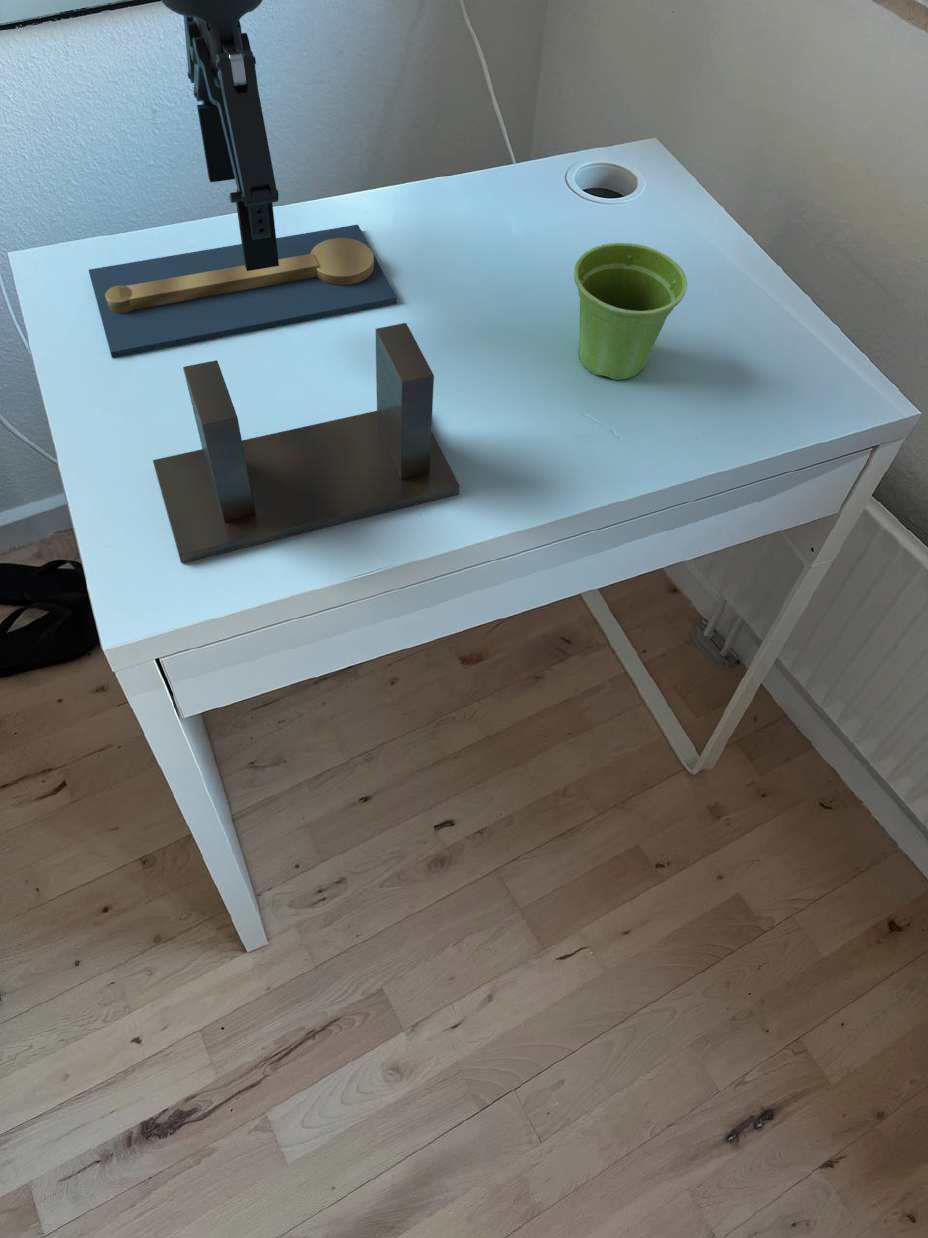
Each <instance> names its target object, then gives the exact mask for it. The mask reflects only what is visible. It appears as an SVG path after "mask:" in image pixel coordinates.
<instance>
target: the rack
mask: <svg viewBox="0 0 928 1238" xmlns="http://www.w3.org/2000/svg"><path fill="white" fill-rule="evenodd" d="M374 332H375V375H376V377H375V378H376V379H375V381H376V382H375V383H376V410H374V411H369V412H365V413H364V412H363V413H359V414H356V415H355V414H354V415H352V416H351V415H350V416H347V417H342V418H338V419H333V420H329V421H324V422H320V423H315V424H310V425H305V426H301V427H297V428H292V429H288V430H283V431H277V432H274V433H269V434H265V435H261V436H256V437H252V438H246V439H243V440H242V434H241V429H240V422H239V418H238V415H237V413H236V409H235V406H234V403H233V401H232V400H233V399H232V398H231V394H230V392H229V389H228V387H227V384H226V381H225V378H224V375H223V372H222V369H221V366H220V364H219V361H218V360H217V359H216V360H212V361H207V362H206V361H205V362H201V363H196V364H191V365H185V366H183V367H182V369H183V373H184V377H185V382H186V386H187V390H188V395H189V398H190V403H191V406H192V407H191V408H192V412H193V415H194V420H195V424H196V428H197V432H198V436H199V441H200V445H201V449H197V450H193V451H192V450H191V451H188V452H184V453H179V454H174V455H170V456H166V457H161V458H156V459H153V460H152V463H153V467H154V471H155V474H156V478H157V481H158V485H159V488H160V493H161V496H162V499H163V504H164V508H165V510H166V514H167V518H168V521H169V525H170V529H171V531H172V536H173V539H174V543H175V547H176V550H177V555H178V557H179V560H180V563H181V564H184V563H189V562H193V561H197V560H200V559H205V558H208V557H213V556H216V555H217V556H218V555H221V554H224V553H229V552H233V551H237V550H240V549H244V548H249V547H253V546H258V545H261V544H265V543H269V542H272V541H278V540H281V539H285V538H288V537H293V536H296V535H297V536H298V535H301V534H305V533H308V532H313V531H316V530H322V529H324V528H329V527H332V526H337V525H341V524H344V523H348V522H349V523H350V522H353V521H356V520H361V519H365V518H369V517H372V516H373V517H374V516H376V515H377V516H378V515H380V514H386V513H390V512H393V511H397V510H400V509H405V508H409V507H412V506H417V505H420V504H421V505H422V504H424V503H425V504H426V503H428V502H429V503H430V502H432V501H436V500H441V499H446V498H449V497H452V496H458V495H459V494H460V487H461V485H460V484H459V481H458V480H457V478H456V476H455V474H454V472H453V470H452V468H451V466H450V464H449V462H448V460H447V458H446V456H445V454H444V451H443V449H442V448H441V446H440V444H439V442H438V440H437V438H436V436H435V434H434V432H433V429H432V428H433V427H432V426H433V407H434V406H433V405H434V386H435V385H434V381H435V374H434V373H433V371H432V368H431V366H430V365H429V363H428V361H427V359H426V358H425V356H424V354H423V351H422V350H421V348H420V346H419V344H418V342H417V340H416V339H415V337H414V335H413V333H412V331H411V329H410V328H409V326H408V324H407V322H403V323H398V324H393V325H392V324H391V325H388V326H387V325H386V326H383V327H382V326H381V327H377V328H375V331H374Z"/></svg>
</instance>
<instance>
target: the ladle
mask: <svg viewBox="0 0 928 1238" xmlns="http://www.w3.org/2000/svg"><path fill="white" fill-rule="evenodd" d="M370 248H371V247H370ZM370 248H369V247H368V246H367V245H365V244H364V243H362V242H360V241H357V240H354V239H349V238H334V239H329V240H325V241H323V242H321V243H319V244H318V245H316V246H315V247H314V248H313V249H312V251H311V254H307V255H301V256H295V257H289V258H284V259H278V261H279V266H275V267H269V268H263V269H257V270H251V271H247V270H246V267H245V265H243V266H238V267H232V268H226V269H220V270H215V271H209V272H203V273H197V274H191V275H186V276H180V277H174V278H168V279H163V280H157V281H151V282H145V283H140V284H134V285H128V286H115V287H112V288H110V289H109V290H107V292H106V294H105V297H106V300H107V304H108V307H109V309H110V310H111V311H112V312H115V313H127V312H130V311H131V310H136V309H142V308H147V307H153V306H158V305H164V304H169V303H175V302H180V301H186V300H191V299H197V298H203V297H208V296H214V295H219V294H225V293H230V292H236V291H241V290H247V289H252V288H258V287H264V286H269V285H275V284H280V283H286V282H291V281H297V280H302V279H308V278H313V277H317V278H319V279H320V280H322V281H324V282H326V283H330V284H334V285H352V284H356V283H359V282H361V281H363V280H365V279H366V278H368V277H369V276H370V275H371V273H372V272H373V269H374V256H375V255H374V256H373V254H374V252H373V250H372V248H371V249H370ZM371 250H372V251H371ZM372 252H373V253H372Z"/></svg>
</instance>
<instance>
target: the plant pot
mask: <svg viewBox="0 0 928 1238" xmlns="http://www.w3.org/2000/svg"><path fill="white" fill-rule="evenodd" d="M573 278H574V282H575V283H574V284H575V285H576V287H577V292H578V293H577V294H578V296H579V324H578V325H579V326H578V328H579V329H578V330H579V331H578V359H579V361H580V363H581V364H582V366H583V367H584V368H585V369H586V370H587V371H588V372H590V373H592V374H594V375H595V376H603V377H608V378H610V379H611V380H614V381H615V380H616V381H617V380H618V381H619V380H620V381H621V380H626V379H630V378H633V377H635V376H637V375H638V374H639V373H641V372H642V371H643V369H644V368H645V366H646V364H647V362H648V360H649V358H650V355H651V352H652V350H653V348H654V346H655V343H656V341H657V340H658V337H659V335H660V333H661V331H662V328H663V326H664V325H665V322H666V320H667V318H668V316H669V315H670V314H671V313H672V312H673V310H674V308H675V307H676V306H678V305H679V303H680V302H682V300H683V299H684V296H685V295H686V293H687V288H688V281H687V276H686V274H685V272H684V270H683V269H682V267H681V266H680V265H679V264H678V263H677V262H676V261H675V260H674V259H672V258H671V256H668V255H667V254H665V253H663V252H661V251H659V250H657V249H655V248H651V247H649V246H646V245H642V244H638V243H631V242H609V243H605V244H604V243H603V244H601V245H597V246H595V247H592V248H590V249H589V250H587V251H585V252H583V254H581V255H580V256H579V258H578V259H577V260H576V262H575V265H574V267H573Z"/></svg>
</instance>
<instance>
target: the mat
mask: <svg viewBox="0 0 928 1238" xmlns="http://www.w3.org/2000/svg"><path fill="white" fill-rule="evenodd" d="M334 238H349V239H354V240H357V241H360V242H362V243H364V244H365V245H367V246H368V247H369V248H370V249H371V251H372V253H373V256H374V269H373V272H372V273H371V275H370V276H369V277H368V278H366V279H365V280H363V281H361V282H359V283H356V284H352V285H334V284H330V283H326V282H324V281H322V280H320V279H319V278H317V277H313V278H308V279H302V280H297V281H291V282H286V283H280V284H275V285H269V286H264V287H258V288H252V289H247V290H241V291H236V292H230V293H225V294H219V295H214V296H208V297H203V298H197V299H191V300H186V301H180V302H175V303H169V304H164V305H158V306H153V307H147V308H142V309H136V310H131V311H130V312H127V313H115V312H112V311H111V310H110V309H109V307H108V304H107V300H106V297H105V294H106V292H107V290H109V289H110V288H112V287H115V286H128V285H134V284H140V283H145V282H151V281H157V280H163V279H168V278H174V277H180V276H186V275H191V274H197V273H203V272H209V271H215V270H220V269H226V268H232V267H238V266H243V265H245V263H244V256H243V249H242V243H239V244H233V245H228V246H222V247H215V248H209V249H202V250H197V251H191V252H186V253H179V254H173V255H167V256H162V257H155V258H150V259H149V258H148V259H143V260H137V261H131V262H125V263H119V264H115V265H108V266H102V267H96V268H95V267H94V268H90V269H88V273H89V277H90V281H91V286H92V289H93V293H94V296H95V300H96V304H97V309H98V312H99V315H100V320H101V322H102V327H103V330H104V334H105V338H106V341H107V345H108V349H109V352H110V355H111V358H118V357H121V356H127V355H128V356H129V355H132V354H137V353H142V352H143V353H144V352H149V351H153V350H158V349H163V348H169V347H174V346H180V345H184V344H190V343H194V342H201V341H206V340H210V339H215V338H221V337H226V336H231V335H237V334H242V333H246V332H253V331H258V330H263V329H268V328H275V327H278V326H284V325H289V324H293V323H294V324H295V323H299V322H303V321H304V322H305V321H309V320H315V319H320V318H325V317H331V316H336V315H342V314H347V313H351V312H357V311H362V310H367V309H372V308H377V307H378V308H379V307H383V306H387V305H394V304H397V303H398V297H397V296H396V293H395V291H394V289H393V288H392V286H391V284H390V282H389V280H388V278H387V276H386V274H385V272H384V271H383V269H382V267H381V264H380V263H379V261H378V259H377V258H376V256H375V254H374V252H373V250H372V248H371V247H370V245H369V243H368V241H367V239H366V237H365V235H364V233H363V232H362V229H361V227H360V226H359V224H352V225H345V226H340V227H334V228H328V229H323V230H322V229H321V230H317V231H310V232H305V233H300V234H292V235H287V236H281V237H276V242H277V251H278V259H284V258H289V257H295V256H301V255H307V254H311V251H312V249H313V248H314V247H315V246H316V245H318V244H319V243H321V242H323V241H325V240H329V239H334Z"/></svg>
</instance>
